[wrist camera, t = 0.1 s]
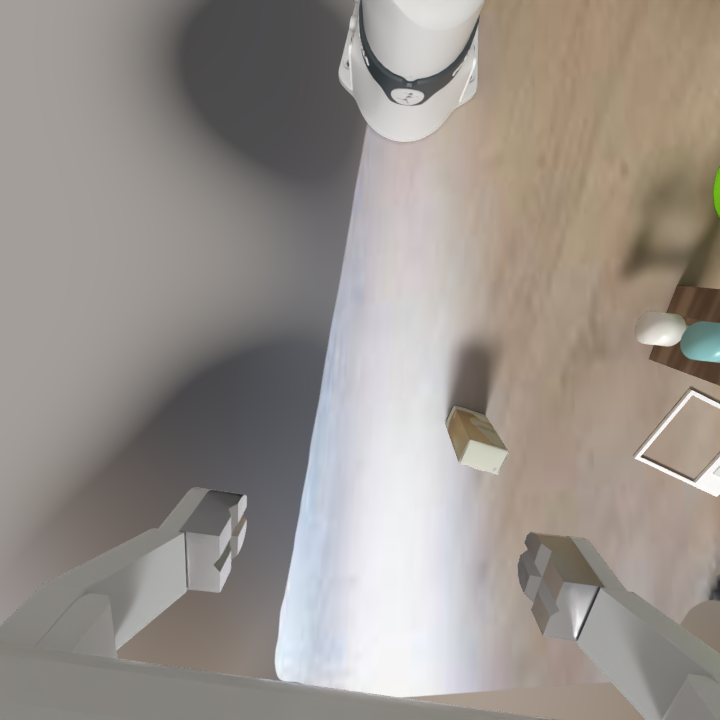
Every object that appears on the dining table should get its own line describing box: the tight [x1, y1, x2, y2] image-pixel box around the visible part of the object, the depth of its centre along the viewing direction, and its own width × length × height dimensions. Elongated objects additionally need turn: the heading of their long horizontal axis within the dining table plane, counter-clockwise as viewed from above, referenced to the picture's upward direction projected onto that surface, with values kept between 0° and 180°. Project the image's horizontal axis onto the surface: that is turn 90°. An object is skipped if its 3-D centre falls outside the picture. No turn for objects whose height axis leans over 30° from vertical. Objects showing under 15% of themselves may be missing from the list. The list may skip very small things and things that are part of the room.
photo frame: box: [633, 389, 720, 497], centre depth 60 cm, size 15×1×18 cm
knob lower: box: [635, 311, 689, 347], centre depth 46 cm, size 13×4×4 cm, turn 83°
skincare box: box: [445, 405, 509, 475], centre depth 55 cm, size 6×4×12 cm
